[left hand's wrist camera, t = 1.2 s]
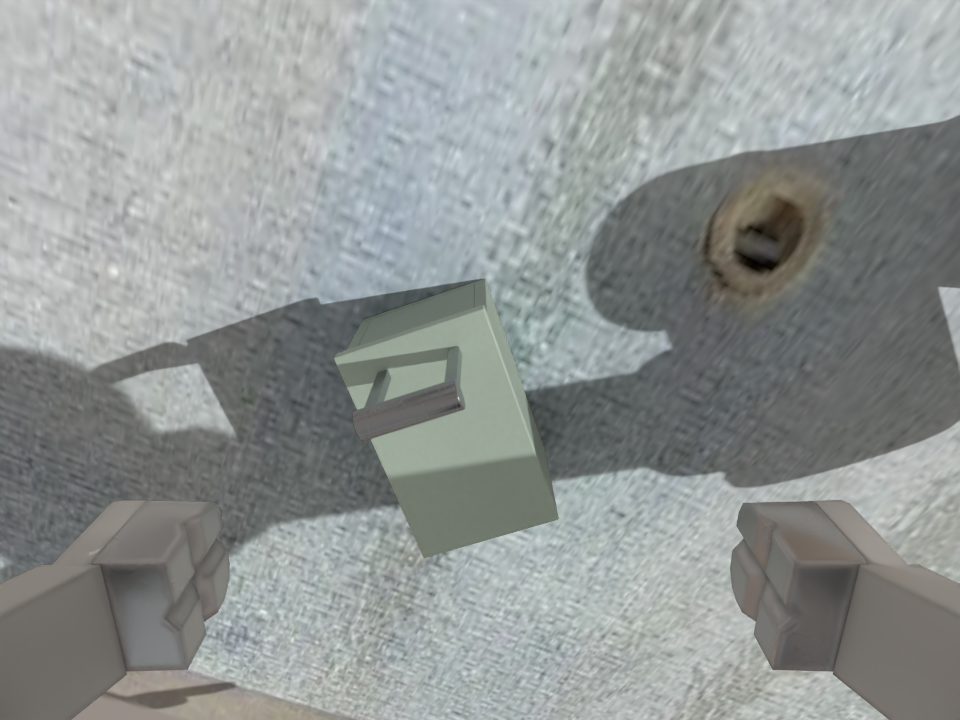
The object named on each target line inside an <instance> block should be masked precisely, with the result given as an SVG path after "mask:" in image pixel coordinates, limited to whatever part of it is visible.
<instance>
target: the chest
mask: <svg viewBox="0 0 960 720" xmlns="http://www.w3.org/2000/svg"><path fill="white" fill-rule="evenodd" d="M481 305H484V306H485V309H486V312H487V314H488V317H489V320H490V323H491V326H492V329H493V331H494V334H495V337H496V340H497V343H498V346H499V348H500V351H501V354H502V357H503V360H504V362H505V365H506V368H507V371H508V374H509V377H510V379H511V382H512V385H513V388H514V391H515V394H516V396H517V399H518V402H519V405H520V408H521V410H522V413H523V416H524V419H525V422H526V425H527V427H528V430H529V433H530V436H531V439H532V442H533V444H534V447H535V450H536V453H537V456H538V459H539V461H540V464H541V467H542V470H543V473H544V475H545V478H546V481H547V484H548V487H549V490H550V492H551V495H552V498H553V501H554V504H555V507H556V502H555V497H554V492H553V487H552V482H551V477H550V472H549V467H548V462H547V457H546V452H545V448H544V445H543V442H542V439H541V437H540V434H539V431H538V428H537V425H536V422H535V419H534V416H533V414H532V411H531V408H530V405H529V402H528V399H527V396H526V393H525V391H524V388H523V385H522V382H521V379H520V376H519V373H518V370H517V368H516V365H515V362H514V359H513V356H512V353H511V350H510V347H509V345H508V342H507V339H506V336H505V333H504V330H503V327H502V324H501V322H500V319H499V316H498V313H497V310H496V307H495V304H494V301H493V299H492V296H491V293H490V290H489V287H488V284H487V281H486V279H482V280H479V281H476V282H473V283H470V284H467V285H464V286H461V287H458V288H455V289H452V290H449V291H446V292H443V293H440V294H437V295H434V296H431V297H428V298H425V299H422V300H419V301H416V302H413V303H410V304H407V305H404V306H401V307H398V308H395V309H393V310H390V311H387V312H384V313H381V314H378V315H375V316H372V317H369V318H366V319H363V321H362V323H361V324H360V326H359V328H358V330H357V332H356V333H355V335H354V337H353V339H352V341H351V343H350V344H349V346H348V348H347V350H348V349H351V348H354V347H357V346H360V345H363V344H366V343H369V342H372V341H375V340H378V339H381V338H384V337H387V336H390V335H393V334H396V333H399V332H402V331H405V330H408V329H412V328H415V327H418V326H421V325H424V324H427V323H430V322H433V321H436V320H439V319H442V318H445V317H448V316H451V315H454V314H457V313H460V312H463V311H466V310H469V309H472V308H475V307H478V306H481ZM556 509H557V507H556Z"/></svg>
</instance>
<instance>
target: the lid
mask: <svg viewBox="0 0 960 720" xmlns="http://www.w3.org/2000/svg"><path fill="white" fill-rule="evenodd" d="M334 361H335V363H336V365H337V368H338V370H339V372H340V374H341V376H342V379H343V381H344V383H345V385H346V387H347V390H348V392H349V394H350V396H351V398H352V401H353V403H354V405H355V407H356V409H357V410H355V411H354V412H353V416H352V418H353V425H354V428H355V431H356V433H357V435H358V437H359V438H360V439H361V440H362V441H366V440H371V442H372V445H373V447H374V449H375V451H376V453H377V456H378V458H379V460H380V462H381V464H382V467H383V469H384V471H385V473H386V475H387V478H388V480H389V482H390V484H391V486H392V489H393V491H394V493H395V495H396V498H397V500H398V502H399V504H400V506H401V509H402V511H403V513H404V515H405V517H406V520H407V522H408V524H409V526H410V528H411V531H412V533H413V535H414V537H415V539H416V542H417V544H418V546H419V548H420V550H421V553H422V555H423V557H424V558H426V557H430V556H433V555H436V554H440V553H443V552H447V551H450V550H454V549H457V548H461V547H464V546H468V545H471V544H475V543H478V542H482V541H485V540H488V539H492V538H495V537H499V536H502V535H506V534H509V533H513V532H516V531H520V530H523V529H527V528H530V527H533V526H537V525H540V524H544V523H547V522H551V521H554V520H558V513H557V509H556V507H555V504H554V501H553V498H552V495H551V492H550V490H549V487H548V484H547V481H546V478H545V475H544V473H543V470H542V467H541V464H540V461H539V459H538V456H537V453H536V450H535V447H534V444H533V442H532V439H531V436H530V433H529V430H528V427H527V425H526V422H525V419H524V416H523V413H522V410H521V408H520V405H519V402H518V399H517V396H516V394H515V391H514V388H513V385H512V382H511V379H510V377H509V374H508V371H507V368H506V365H505V362H504V360H503V357H502V354H501V351H500V348H499V346H498V343H497V340H496V337H495V334H494V331H493V329H492V326H491V323H490V320H489V317H488V314H487V312H486V309H485V306H484V305H481V306H478V307H475V308H472V309H469V310H466V311H463V312H460V313H457V314H454V315H451V316H448V317H445V318H442V319H439V320H436V321H433V322H430V323H427V324H424V325H421V326H418V327H415V328H412V329H408V330H405V331H402V332H399V333H396V334H393V335H390V336H387V337H384V338H381V339H378V340H375V341H372V342H369V343H366V344H363V345H360V346H357V347H354V348H351V349H348V350H345V351H342V352H339V353H337V354H336V355H335V357H334Z"/></svg>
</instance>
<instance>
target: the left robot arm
mask: <svg viewBox="0 0 960 720" xmlns="http://www.w3.org/2000/svg"><path fill="white" fill-rule="evenodd" d="M222 528H223V521H222V516H221V511H220V507H219V506H218V505H217V504H216V503H215V502H196V501H148V500H127V501H116V502H112V503H111V504H110V505H109V506H108V507H107V508H106V509H105V510H104V511H103V512H102V513H101V514H100V515H99V516H98V517H97V518H96V519H95V520H94V521H93V522H92V523H91V524H90V525H89V526H88V528H87V529H86V530H85V531H84V532H83V533H82V534H81V535H80V536H79V537H78V538H77V539H76V540H75V541H74V542H73V543H72V544H71V545H70V546H69V547H68V548H67V549H66V550H65V551H64V553H63V554H62V555H61V556H60V557H59V558H58V559H57V560H56V561H55V562H54V563H53V564H52V565H39V566H37V567H35V568H33V569H31V570H29V571H27V572H24V573H22V574H20V575H18V576H16V577H14V578H12V579H9V580H7V581H5V582H3V583H1V584H0V720H71V719H72V718H74V717H75V716H76V715H77V714H79V713H80V712H81V711H82V710H84V709H85V708H86V707H87V706H89V705H90V704H91V703H92V702H94V701H95V700H96V699H97V698H98V697H100V696H101V695H102V694H103V693H105V692H106V691H107V690H108V689H110V688H111V687H112V686H113V685H115V684H116V683H117V682H118V681H120V680H121V679H122V678H123V677H124V676H126V675H127V672H126V671H158V670H187V669H188V668H189V666H190V664H191V662H192V660H193V658H194V656H195V654H196V653H197V651H198V649H199V647H200V645H201V643H202V641H203V639H204V638H205V636H206V630H205V625H204V621H206V620H207V619H209V618H210V617H212V616H213V615H214V614H216V613H217V612H218V611H219V609H220V607H221V605H222V603H223V601H224V599H225V595H226V591H227V587H228V582H229V557H228V550H227V549H226V548H225V547H224V546H223V545H222V544H221V543H220V542H219V541H218V540H217V539H216V537H217V536H218V534H219V533H220V531H221V529H222ZM737 528H738V529H739V531H740V533H741V534H742V536H743V537H744V539H743V540H742V541H741V542H740V543H739V544H738V545H737V546H736V547H735V548H734V549H733V550H732V558H731V566H730V571H731V582H732V589H733V592H734V595H735V598H736V601H737V603H738V605H739V607H740V609H741V611H742V612H743V613H744V614H746V615H747V616H748V617H750V618H751V619H753V620H754V621H756V625H755V630H754V636H755V638H756V639H757V641H758V643H759V645H760V647H761V649H762V651H763V653H764V654H765V656H766V658H767V660H768V662H769V664H770V666H771V667H772V669H773V670H801V671H834V672H833V675H835V676H836V677H837V678H838V679H840V680H841V681H842V682H843V683H844V684H846V685H847V686H848V687H849V688H851V689H852V690H853V691H854V692H856V693H857V694H858V695H859V696H861V697H862V698H863V699H864V700H865V701H867V702H868V703H869V704H870V705H872V706H873V707H874V708H875V709H877V710H878V711H879V712H880V713H882V714H883V715H884V716H885V717H886V718H888V719H889V720H960V584H959V583H957V582H955V581H953V580H951V579H948V578H946V577H944V576H942V575H940V574H938V573H936V572H933V571H931V570H929V569H927V568H925V567H923V566H921V565H908V564H907V563H906V562H905V561H904V560H903V559H902V558H901V557H900V556H899V555H898V553H897V552H896V551H895V550H894V549H893V548H892V547H891V546H890V545H889V544H888V543H887V542H886V541H885V540H884V539H883V538H882V537H881V536H880V535H879V534H878V533H877V532H876V531H875V529H874V528H873V527H872V526H871V525H870V524H869V523H868V522H867V521H866V520H865V519H864V518H863V517H862V516H861V515H860V514H859V513H858V512H857V511H856V510H855V509H854V508H853V507H852V505H851V504H850V503H847V502H845V501H842V500H826V501H806V502H763V503H743V505H742V507H741V509H740V511H739V515H738V520H737Z"/></svg>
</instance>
